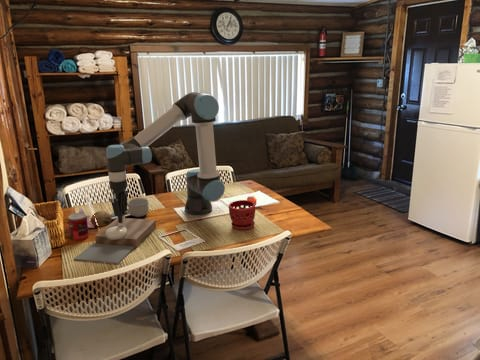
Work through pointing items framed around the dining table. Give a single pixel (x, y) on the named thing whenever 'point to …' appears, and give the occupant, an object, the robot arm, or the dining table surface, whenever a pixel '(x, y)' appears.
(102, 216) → the coconut
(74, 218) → the canned food
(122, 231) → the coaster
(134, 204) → the teacup
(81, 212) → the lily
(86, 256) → the mat
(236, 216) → the plant pot
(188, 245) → the photo frame
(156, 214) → the dining table surface
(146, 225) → the serving board
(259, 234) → the dining table surface
